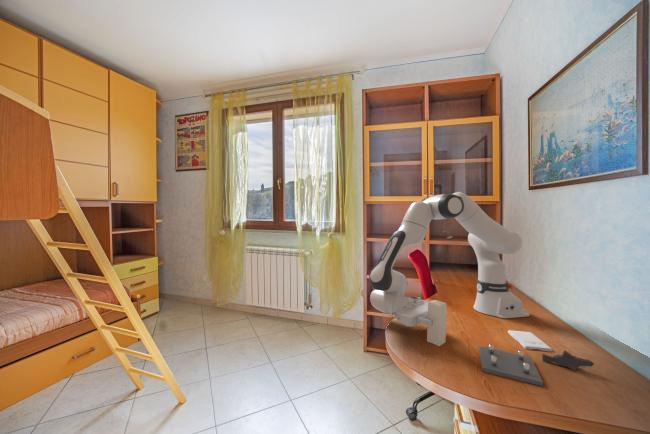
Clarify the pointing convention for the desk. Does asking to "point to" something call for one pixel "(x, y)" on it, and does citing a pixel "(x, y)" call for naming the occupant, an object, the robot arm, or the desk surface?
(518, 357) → the plate
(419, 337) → the desk surface
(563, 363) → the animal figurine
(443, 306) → the cream column
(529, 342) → the external hard drive
